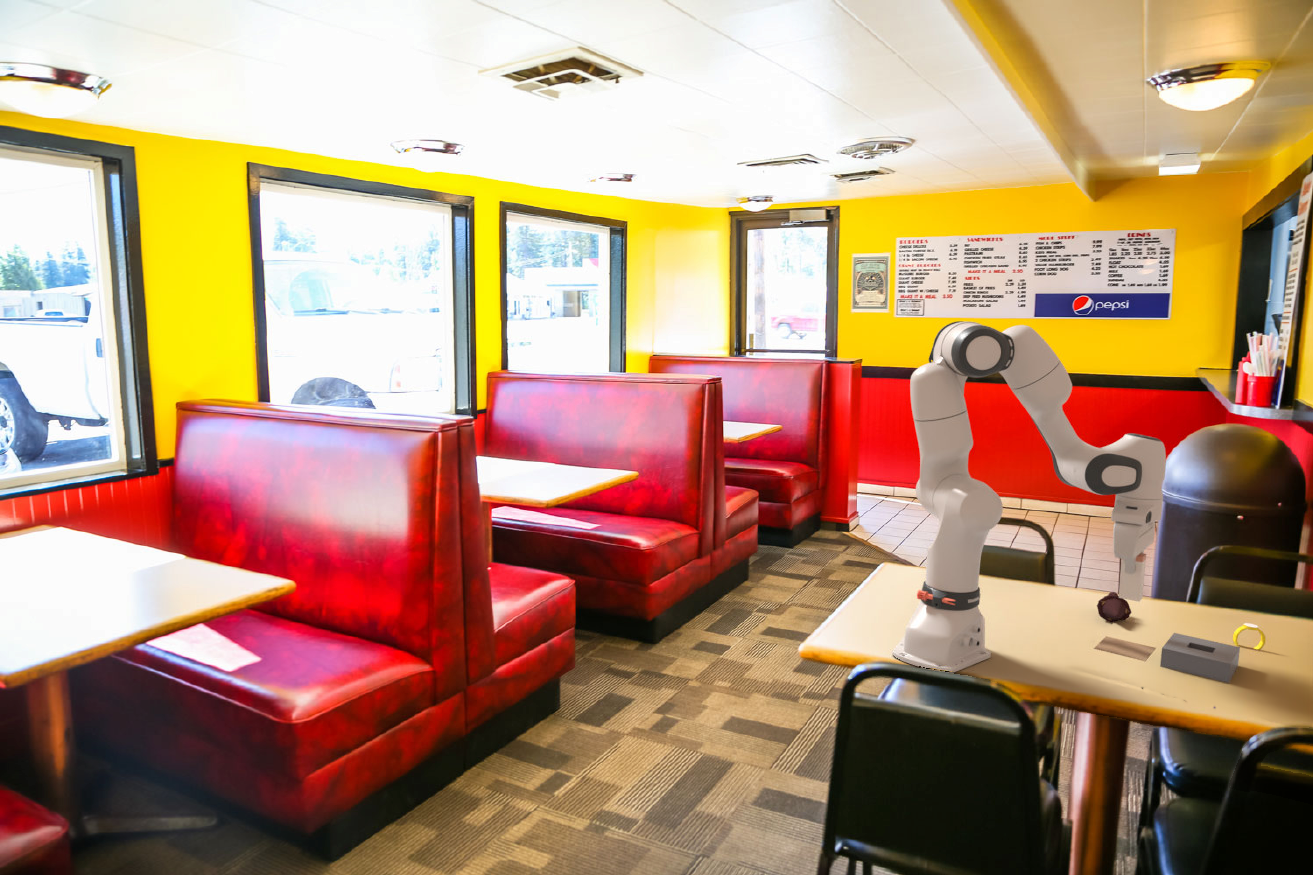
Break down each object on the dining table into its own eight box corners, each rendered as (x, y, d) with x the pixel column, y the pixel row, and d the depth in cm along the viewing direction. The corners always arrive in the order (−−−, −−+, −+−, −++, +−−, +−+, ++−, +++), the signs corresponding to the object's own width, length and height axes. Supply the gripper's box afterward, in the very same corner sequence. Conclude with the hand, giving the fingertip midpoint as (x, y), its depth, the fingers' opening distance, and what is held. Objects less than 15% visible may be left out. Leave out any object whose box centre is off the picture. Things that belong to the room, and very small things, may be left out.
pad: (1144, 665, 178) (1145, 660, 178) (1093, 652, 185) (1093, 648, 185) (1155, 652, 186) (1155, 647, 186) (1105, 640, 192) (1106, 636, 192)
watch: (1258, 650, 189) (1263, 625, 188) (1264, 654, 186) (1270, 629, 185) (1229, 646, 190) (1234, 620, 189) (1235, 650, 187) (1240, 625, 186)
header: (1228, 687, 168) (1230, 663, 167) (1159, 670, 176) (1162, 647, 175) (1237, 669, 177) (1240, 647, 176) (1171, 654, 185) (1174, 632, 184)
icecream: (1139, 608, 196) (1130, 594, 210) (1105, 596, 198) (1099, 583, 212) (1129, 635, 197) (1120, 620, 211) (1095, 622, 199) (1089, 608, 213)
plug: (1139, 601, 181) (1143, 556, 180) (1118, 597, 184) (1122, 553, 183) (1142, 598, 184) (1146, 553, 182) (1122, 594, 186) (1125, 550, 185)
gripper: (1133, 499, 191) (1128, 558, 193) (1109, 514, 176) (1104, 578, 178) (1165, 503, 187) (1159, 563, 189) (1143, 518, 171) (1137, 584, 173)
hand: (1132, 570), depth 183 cm, fingers closed on plug, 3 cm apart
